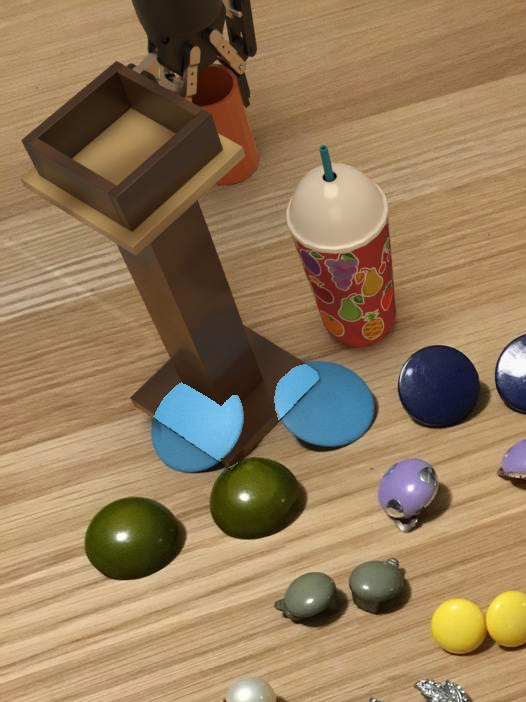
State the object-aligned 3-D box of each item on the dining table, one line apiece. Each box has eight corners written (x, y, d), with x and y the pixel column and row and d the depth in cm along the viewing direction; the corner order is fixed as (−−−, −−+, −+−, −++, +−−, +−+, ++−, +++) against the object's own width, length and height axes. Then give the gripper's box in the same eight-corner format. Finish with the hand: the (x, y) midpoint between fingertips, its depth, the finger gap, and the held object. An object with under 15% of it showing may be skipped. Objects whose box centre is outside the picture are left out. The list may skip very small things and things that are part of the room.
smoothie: (399, 280, 105) (370, 100, 87) (412, 350, 102) (385, 178, 84) (311, 296, 105) (263, 118, 87) (322, 366, 102) (274, 197, 83)
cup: (187, 168, 113) (160, 92, 104) (227, 132, 114) (203, 54, 106) (231, 193, 111) (206, 117, 103) (271, 156, 113) (250, 79, 105)
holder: (134, 405, 101) (-11, 144, 75) (223, 318, 105) (116, 40, 78) (231, 471, 98) (116, 221, 71) (320, 379, 101) (242, 109, 75)
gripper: (190, -104, 96) (238, 67, 112) (71, -10, 92) (138, 154, 107) (255, -73, 94) (295, 96, 110) (136, 25, 90) (195, 187, 105)
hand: (217, 124), depth 108 cm, fingers closed on cup, 6 cm apart
